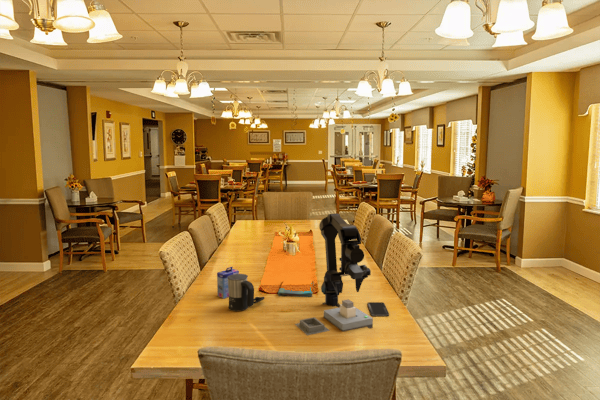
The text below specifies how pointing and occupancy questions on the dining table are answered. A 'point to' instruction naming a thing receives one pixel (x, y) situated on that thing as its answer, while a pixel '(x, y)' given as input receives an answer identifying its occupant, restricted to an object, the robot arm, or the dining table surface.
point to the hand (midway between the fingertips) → (347, 293)
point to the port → (348, 320)
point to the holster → (311, 326)
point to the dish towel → (294, 293)
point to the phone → (378, 309)
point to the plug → (347, 309)
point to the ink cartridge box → (224, 282)
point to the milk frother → (241, 293)
